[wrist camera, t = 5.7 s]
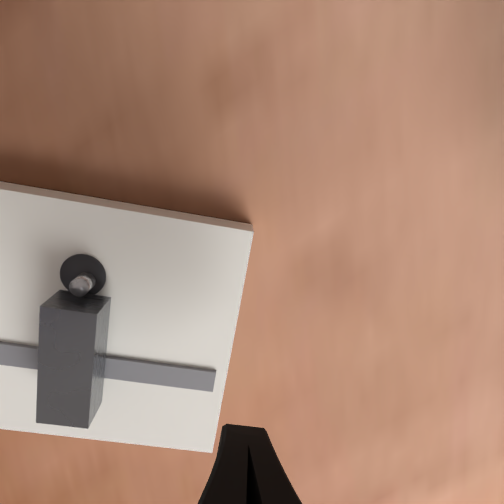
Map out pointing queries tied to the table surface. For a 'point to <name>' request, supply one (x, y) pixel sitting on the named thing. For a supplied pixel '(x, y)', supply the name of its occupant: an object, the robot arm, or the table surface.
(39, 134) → the table surface
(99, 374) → the block
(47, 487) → the table surface
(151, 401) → the board
